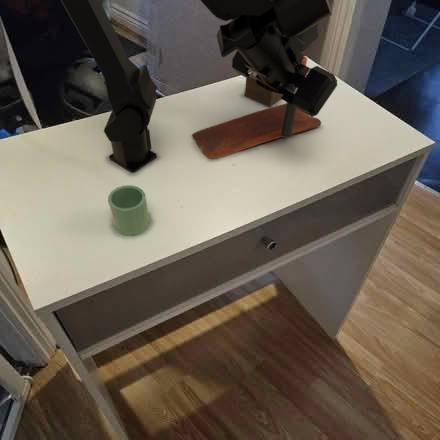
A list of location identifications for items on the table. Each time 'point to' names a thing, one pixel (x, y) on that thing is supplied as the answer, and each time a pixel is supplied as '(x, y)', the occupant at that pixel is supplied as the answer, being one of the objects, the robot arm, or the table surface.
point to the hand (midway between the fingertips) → (298, 96)
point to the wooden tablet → (249, 131)
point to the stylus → (290, 114)
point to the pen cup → (129, 210)
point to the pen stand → (260, 92)
